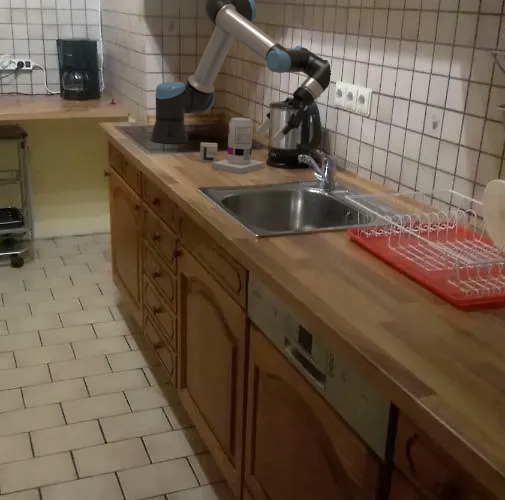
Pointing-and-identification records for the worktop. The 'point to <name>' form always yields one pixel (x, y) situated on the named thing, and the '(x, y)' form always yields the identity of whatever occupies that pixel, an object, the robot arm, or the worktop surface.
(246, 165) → the grey board
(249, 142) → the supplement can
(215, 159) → the letter block
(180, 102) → the robot arm
